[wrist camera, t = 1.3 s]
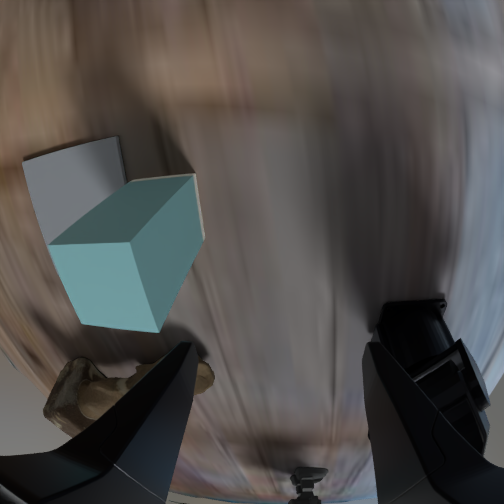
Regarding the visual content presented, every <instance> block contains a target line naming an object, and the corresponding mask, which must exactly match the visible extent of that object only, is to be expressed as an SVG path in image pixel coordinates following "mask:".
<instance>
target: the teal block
mask: <svg viewBox="0 0 504 504" xmlns="http://www.w3.org/2000/svg"><path fill="white" fill-rule="evenodd" d="M204 239H205V233H204V227H203V220H202V214H201V207H200V200H199V194H198V187H197V180H196V173H191V174H180V175H170V176H160V177H151V178H143V179H134V180H131V181H130V182H128V183H127V184H126V185H124V186H123V187H121V188H120V189H119V190H117V191H116V192H114V193H113V194H112V195H110V196H109V197H107V198H106V199H105V200H103V201H102V202H101V203H99V204H98V205H97V206H95V207H94V208H93V209H91V210H90V211H89V212H88V213H86V214H85V215H84V216H82V217H81V218H80V219H79V220H77V221H76V222H75V223H74V224H72V225H71V226H70V227H69V228H67V229H66V230H65V231H64V232H63V233H61V234H60V235H59V236H58V237H57V238H55V239H54V240H53V241H52V242H51V243H50V244H48V248H49V251H50V253H51V256H52V259H53V261H54V264H55V266H56V269H57V271H58V273H59V276H60V278H61V281H62V283H63V285H64V287H65V290H66V292H67V294H68V296H69V298H70V301H71V303H72V305H73V307H74V309H75V311H76V313H77V315H78V317H79V319H80V321H81V323H82V324H86V325H93V326H100V327H108V328H116V329H125V330H134V331H144V332H154V333H159V332H160V330H161V328H162V326H163V324H164V321H165V319H166V317H167V315H168V313H169V311H170V309H171V307H172V304H173V302H174V300H175V298H176V296H177V294H178V292H179V290H180V288H181V286H182V284H183V281H184V279H185V277H186V275H187V273H188V271H189V269H190V267H191V265H192V263H193V261H194V259H195V257H196V255H197V253H198V251H199V249H200V247H201V245H202V243H203V241H204Z"/></svg>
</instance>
